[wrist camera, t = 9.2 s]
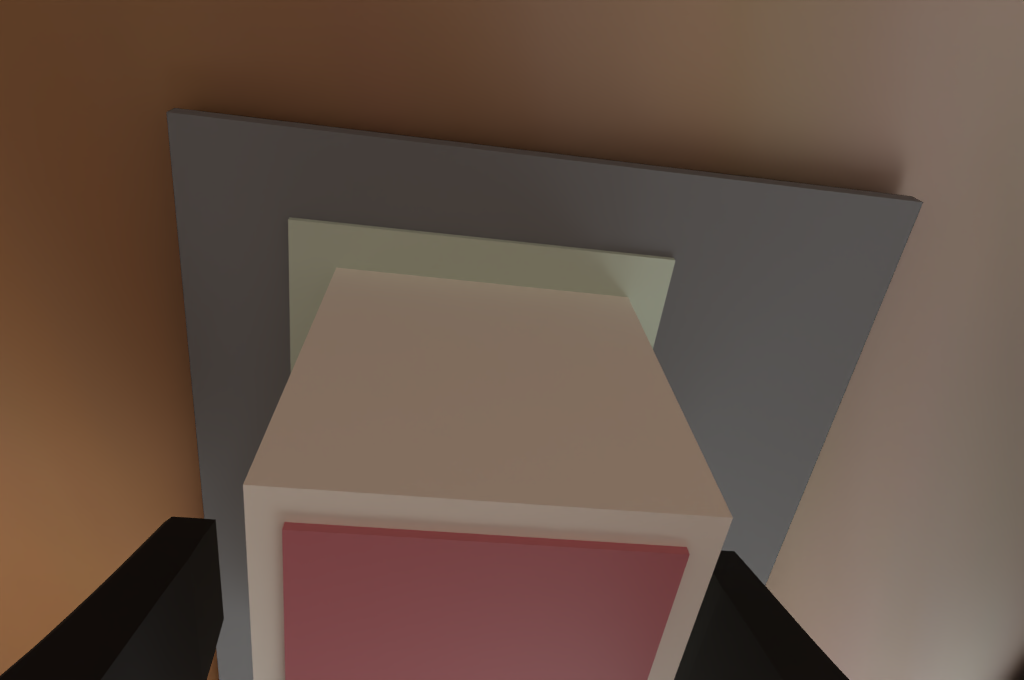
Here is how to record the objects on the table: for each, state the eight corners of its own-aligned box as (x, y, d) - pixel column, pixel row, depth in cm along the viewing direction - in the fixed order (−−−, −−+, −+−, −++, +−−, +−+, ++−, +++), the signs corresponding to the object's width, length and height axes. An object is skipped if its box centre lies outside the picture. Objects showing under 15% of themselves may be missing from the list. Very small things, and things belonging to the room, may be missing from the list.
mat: (912, 196, 11) (926, 204, 11) (654, 836, 19) (657, 853, 19) (174, 107, 10) (163, 113, 9) (238, 831, 18) (233, 848, 18)
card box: (547, 643, 15) (582, 940, 10) (328, 632, 14) (265, 940, 10) (627, 297, 11) (736, 526, 7) (335, 267, 11) (239, 492, 6)
